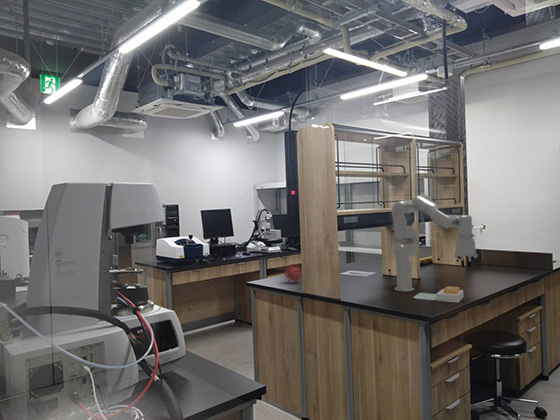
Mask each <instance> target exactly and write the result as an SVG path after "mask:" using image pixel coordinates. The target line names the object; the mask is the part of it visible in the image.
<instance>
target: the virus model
mask: <svg viewBox="0 0 560 420" xmlns="http://www.w3.org/2000/svg"><path fill="white" fill-rule="evenodd" d="M284 269H285V271H284V276H285V279H286V281H287V282H294V283H295V282H296V283H297V282H298V283H300V282H301V280H302V276H301V275H302V270H301V267H299V265H298V264H297V263H290V264H289V265H287V266H286V268H284Z"/></svg>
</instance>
